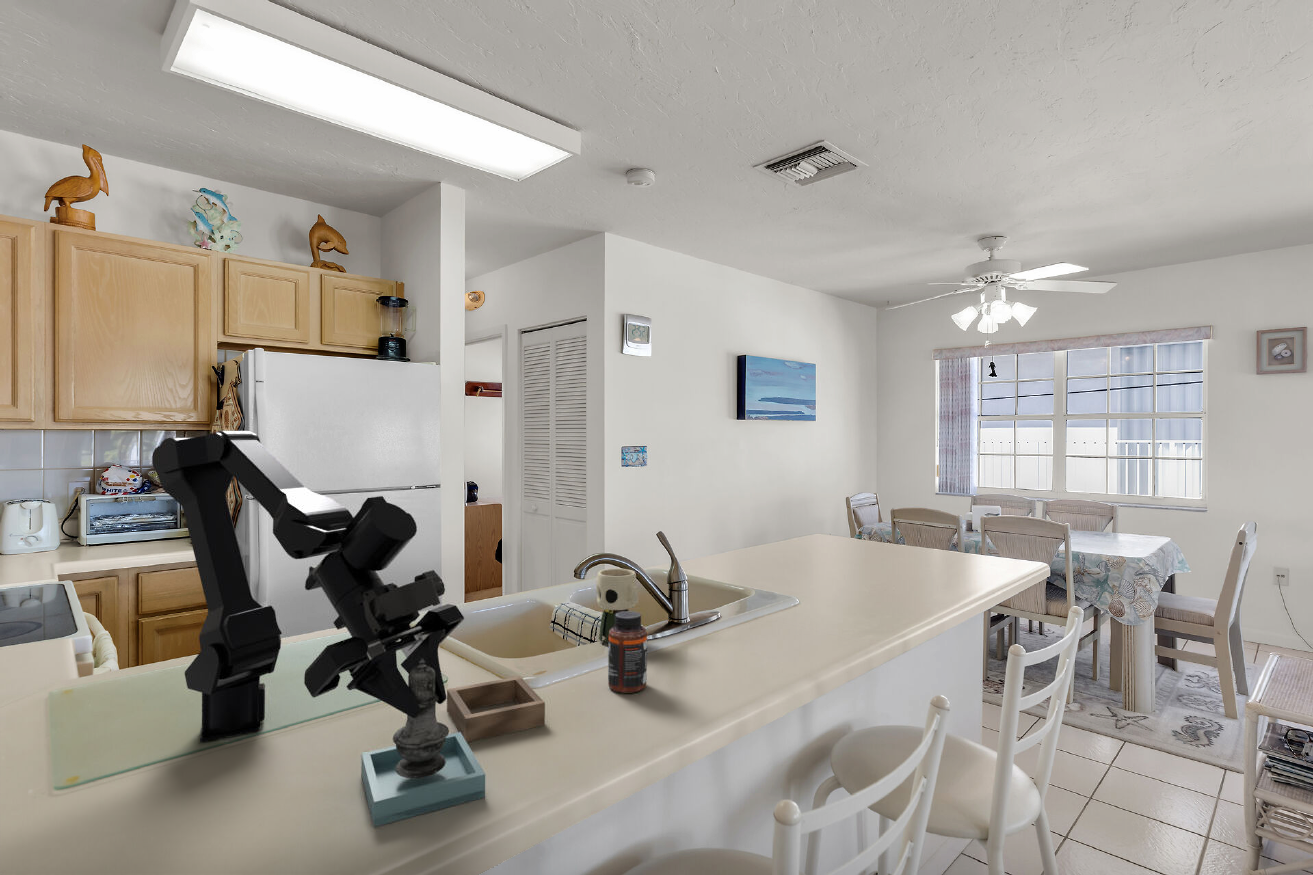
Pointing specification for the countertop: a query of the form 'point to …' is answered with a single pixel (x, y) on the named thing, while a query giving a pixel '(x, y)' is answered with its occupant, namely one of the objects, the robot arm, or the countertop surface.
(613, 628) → the supplement bottle
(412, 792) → the tray
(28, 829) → the countertop surface
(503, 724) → the box
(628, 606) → the character mug
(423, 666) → the salt shaker
